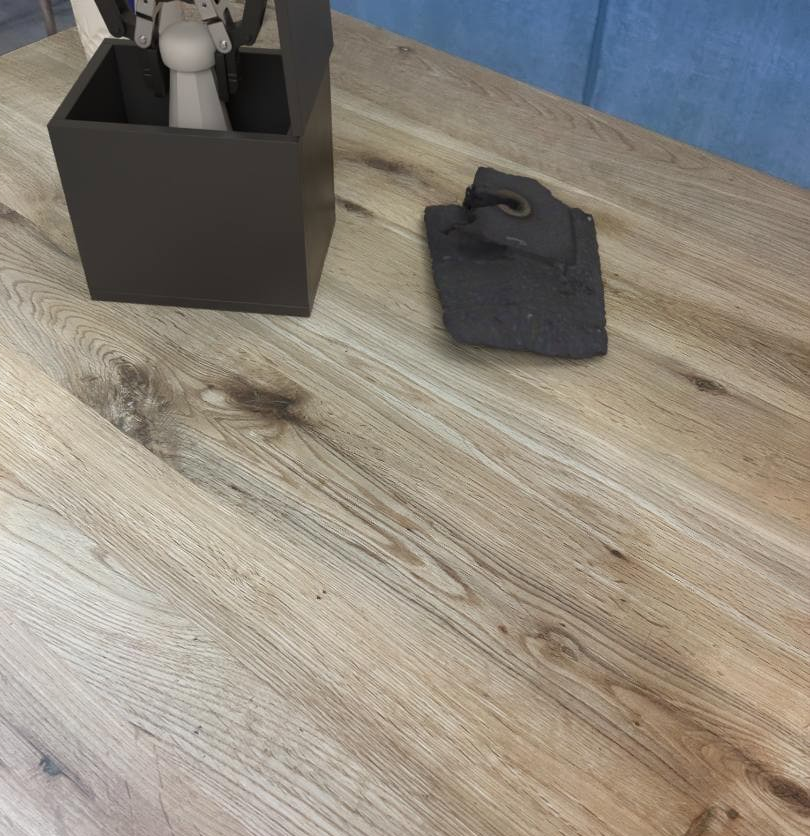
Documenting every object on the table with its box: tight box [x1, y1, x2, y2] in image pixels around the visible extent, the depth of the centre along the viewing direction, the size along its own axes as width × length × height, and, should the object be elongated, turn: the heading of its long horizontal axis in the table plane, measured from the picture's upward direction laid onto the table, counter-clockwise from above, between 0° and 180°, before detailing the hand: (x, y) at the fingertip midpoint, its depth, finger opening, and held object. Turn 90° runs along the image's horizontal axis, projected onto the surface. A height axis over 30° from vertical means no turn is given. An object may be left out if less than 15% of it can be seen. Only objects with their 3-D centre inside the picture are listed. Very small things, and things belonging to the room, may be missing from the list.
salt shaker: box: [159, 20, 233, 131], centre depth 80 cm, size 6×6×13 cm
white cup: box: [69, 0, 128, 63], centre depth 108 cm, size 8×8×10 cm
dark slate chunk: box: [423, 165, 609, 360], centre depth 86 cm, size 15×22×5 cm
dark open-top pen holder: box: [46, 38, 337, 318], centre depth 84 cm, size 18×14×15 cm
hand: (195, 93), depth 79 cm, fingers closed on salt shaker, 4 cm apart
